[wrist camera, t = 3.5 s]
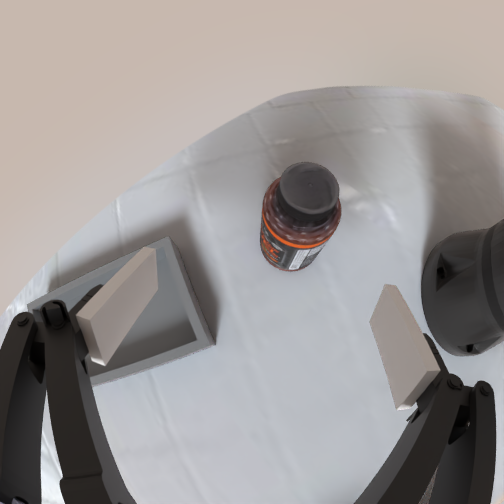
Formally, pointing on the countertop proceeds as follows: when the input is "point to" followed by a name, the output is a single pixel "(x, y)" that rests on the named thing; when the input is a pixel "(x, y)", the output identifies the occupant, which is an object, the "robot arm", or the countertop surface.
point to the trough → (144, 317)
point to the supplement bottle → (299, 216)
